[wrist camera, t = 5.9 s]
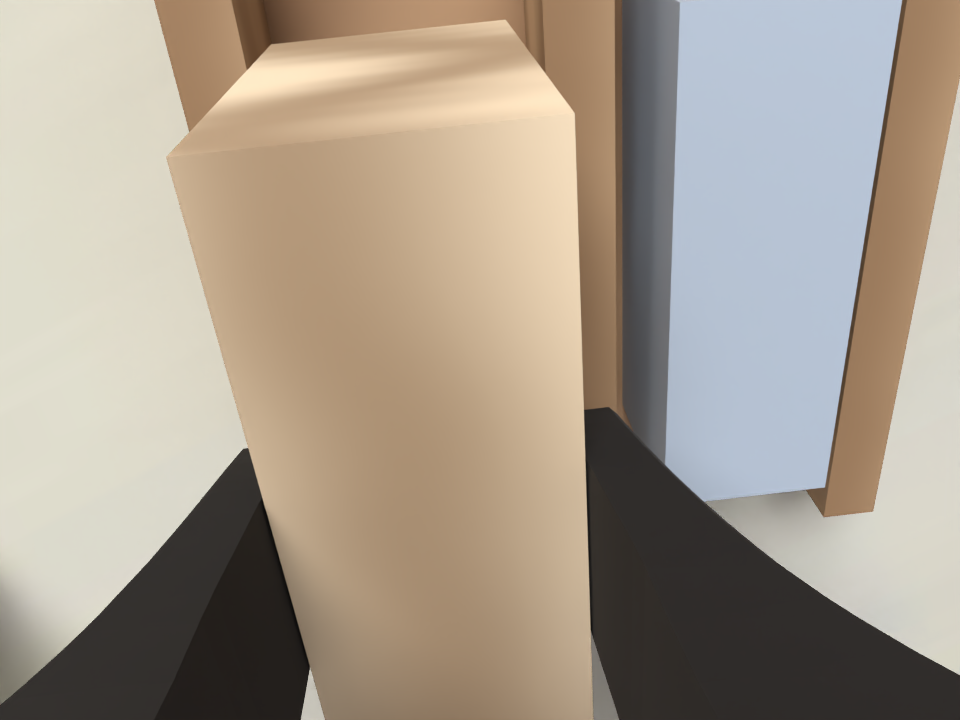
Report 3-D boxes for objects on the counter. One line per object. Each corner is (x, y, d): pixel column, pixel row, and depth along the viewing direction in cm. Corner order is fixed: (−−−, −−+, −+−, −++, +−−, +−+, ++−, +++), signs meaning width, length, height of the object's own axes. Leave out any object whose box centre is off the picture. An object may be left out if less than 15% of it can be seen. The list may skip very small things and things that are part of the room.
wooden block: (505, 19, 12) (575, 113, 7) (540, 529, 17) (596, 805, 12) (270, 44, 12) (166, 157, 7) (374, 549, 17) (357, 834, 12)
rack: (903, -202, 16) (1032, -225, 12) (812, 435, 23) (877, 526, 20) (170, -127, 15) (105, -131, 12) (319, 492, 23) (303, 593, 20)
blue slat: (799, -42, 16) (905, -22, 13) (757, 388, 21) (824, 487, 18) (622, -23, 16) (679, 2, 13) (622, 404, 21) (663, 506, 18)
